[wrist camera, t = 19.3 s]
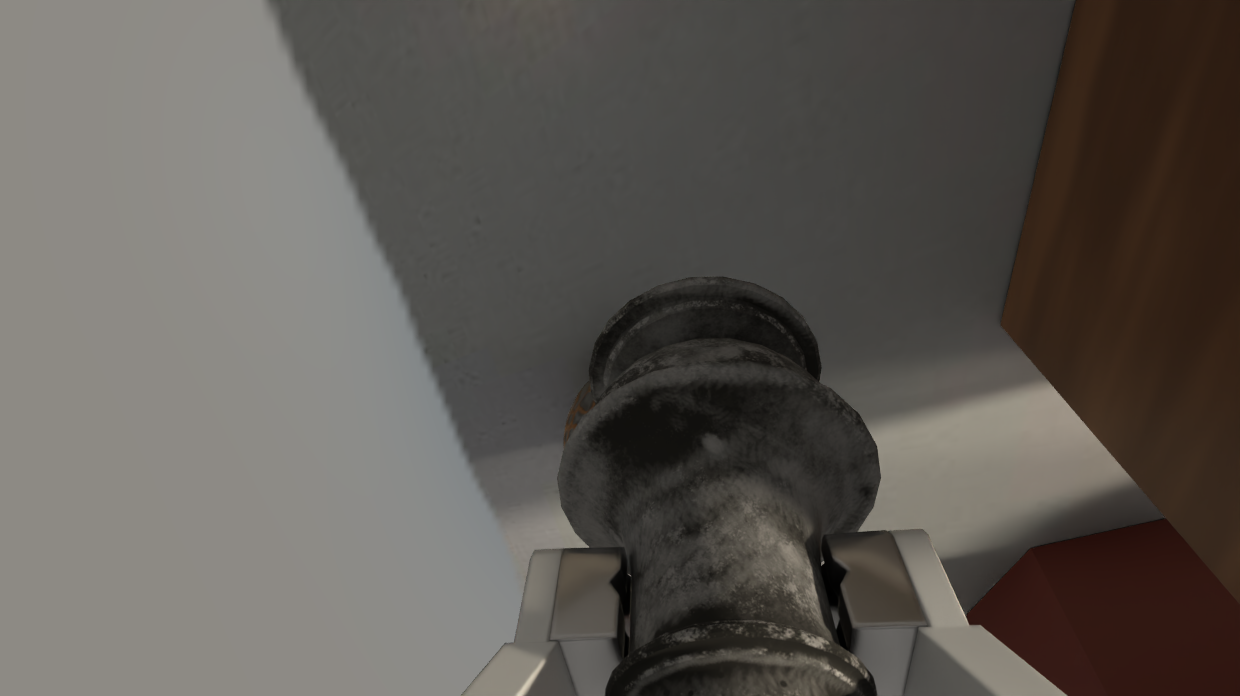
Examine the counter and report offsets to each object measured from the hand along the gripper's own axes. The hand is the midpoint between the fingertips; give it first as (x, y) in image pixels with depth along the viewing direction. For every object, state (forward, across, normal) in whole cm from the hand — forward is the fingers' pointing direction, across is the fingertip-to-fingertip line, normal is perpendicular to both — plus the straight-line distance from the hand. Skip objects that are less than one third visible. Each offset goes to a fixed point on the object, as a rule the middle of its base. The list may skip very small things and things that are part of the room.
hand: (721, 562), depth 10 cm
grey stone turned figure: (+5, 0, 0) cm, 5 cm away
